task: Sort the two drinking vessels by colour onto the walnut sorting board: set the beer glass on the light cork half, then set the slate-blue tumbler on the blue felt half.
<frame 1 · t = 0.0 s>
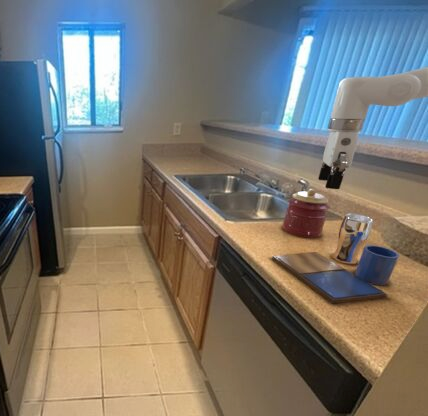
hand: (328, 184, 83), 25 cm above the worktop, tool pointing down, fingers open, 9 cm apart
kitchen canister: (300, 231, 110), on the worktop
blue tumbler: (370, 277, 81), on the worktop
sorting board: (322, 276, 82), on the worktop
beer glass: (344, 259, 90), on the worktop
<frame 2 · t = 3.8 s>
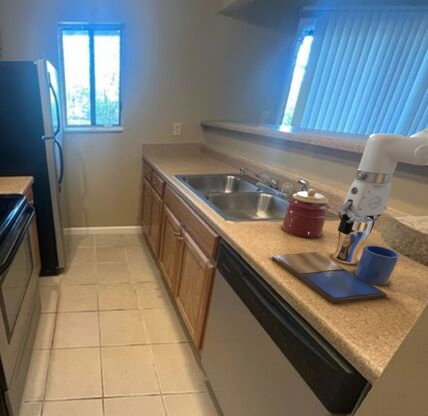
hand: (354, 231, 86), 10 cm above the worktop, tool pointing down, fingers closed on beer glass, 7 cm apart
beer glass: (344, 259, 90), on the worktop, touching gripper
everything else where it was.
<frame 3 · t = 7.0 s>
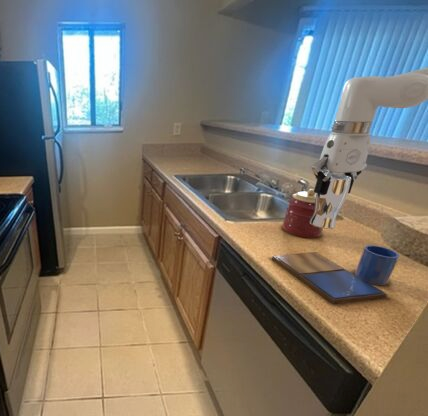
hand: (331, 192, 78), 24 cm above the worktop, tool pointing down, fingers closed on beer glass, 7 cm apart
beer glass: (321, 225, 82), point 14 cm above the worktop, touching gripper
everything else where it was.
when the fingers open (12 cm above the worktop, at t = 10.5 s): beer glass stays where it is, resting on sorting board.
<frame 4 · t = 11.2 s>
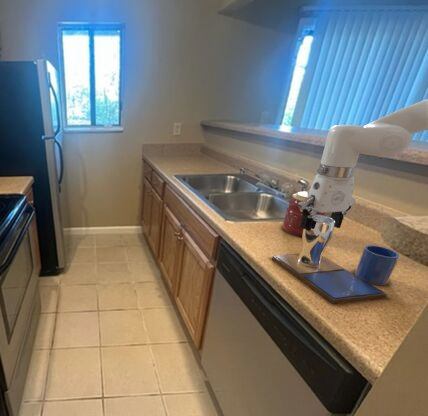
hand: (319, 227, 82), 14 cm above the worktop, tool pointing down, fingers open, 9 cm apart
beer glass: (308, 262, 86), point 1 cm above the worktop, touching sorting board
everything else where it was.
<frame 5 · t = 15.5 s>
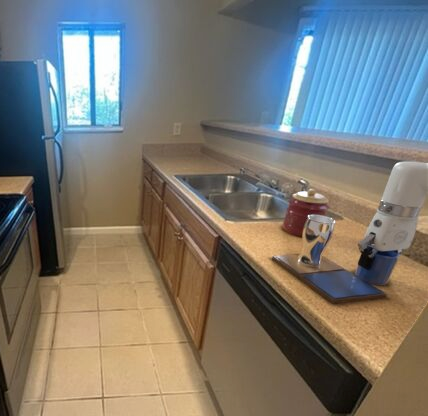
hand: (375, 265, 79), 4 cm above the worktop, tool pointing down, fingers closed on blue tumbler, 7 cm apart
blue tumbler: (370, 277, 81), on the worktop, touching gripper
everything else where it was.
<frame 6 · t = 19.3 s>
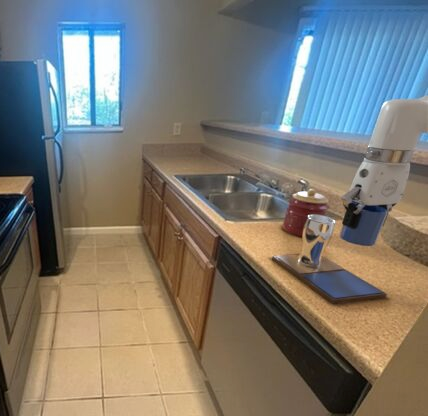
hand: (362, 225, 70), 19 cm above the worktop, tool pointing down, fingers closed on blue tumbler, 7 cm apart
blue tumbler: (356, 239, 71), point 15 cm above the worktop, touching gripper
everything else where it was.
when the fingers open (6 cm above the worktop, at t = 22.9 s): blue tumbler stays where it is, resting on sorting board.
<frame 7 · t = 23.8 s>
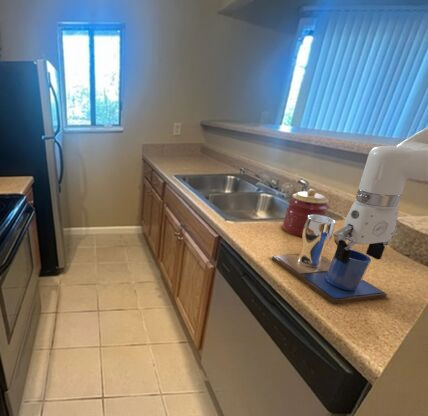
hand: (356, 258, 73), 10 cm above the worktop, tool pointing down, fingers open, 9 cm apart
blue tumbler: (341, 282, 76), point 2 cm above the worktop, touching sorting board
everything else where it was.
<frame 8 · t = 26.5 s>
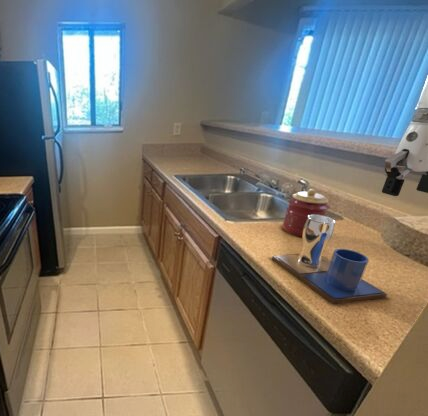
hand: (407, 193, 65), 28 cm above the worktop, tool pointing down, fingers open, 9 cm apart
nothing on the worktop moved.
at the end: beer glass inside the target area on the sorting board (0.1 cm from its centre), point 1.2 cm above the sorting board's base; blue tumbler inside the target area on the sorting board (0.1 cm from its centre), point 1.4 cm above the sorting board's base; beer glass tilted 0° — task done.
